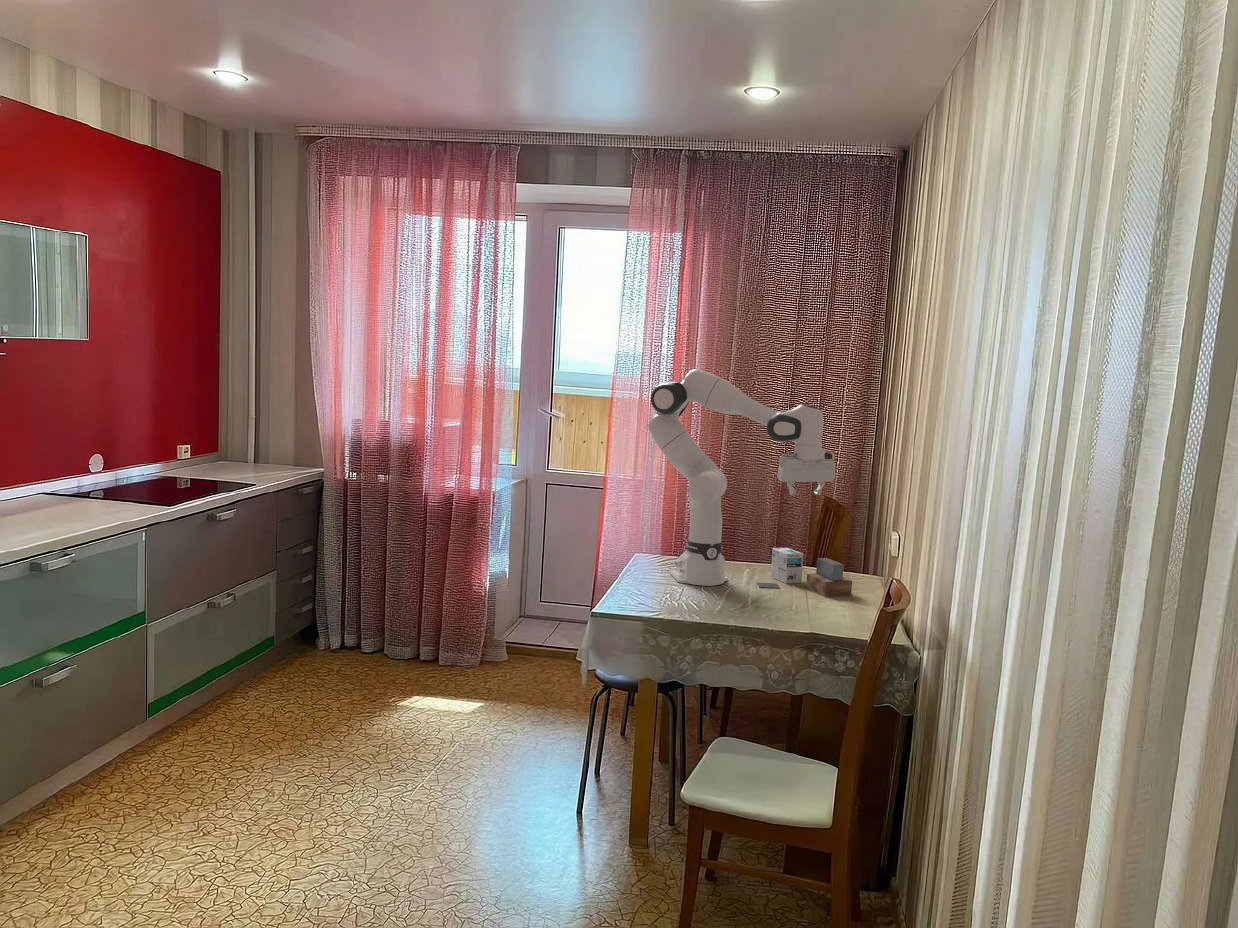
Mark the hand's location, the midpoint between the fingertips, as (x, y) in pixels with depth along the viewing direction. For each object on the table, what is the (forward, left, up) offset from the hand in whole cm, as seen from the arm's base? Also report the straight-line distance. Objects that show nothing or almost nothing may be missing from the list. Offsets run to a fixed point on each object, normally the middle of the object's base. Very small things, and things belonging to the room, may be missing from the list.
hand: (805, 494), depth 308 cm
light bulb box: (-17, +5, -33) cm, 38 cm away
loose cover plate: (-10, -6, -34) cm, 36 cm away
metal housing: (+1, +11, -28) cm, 30 cm away
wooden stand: (+1, +11, -33) cm, 35 cm away
